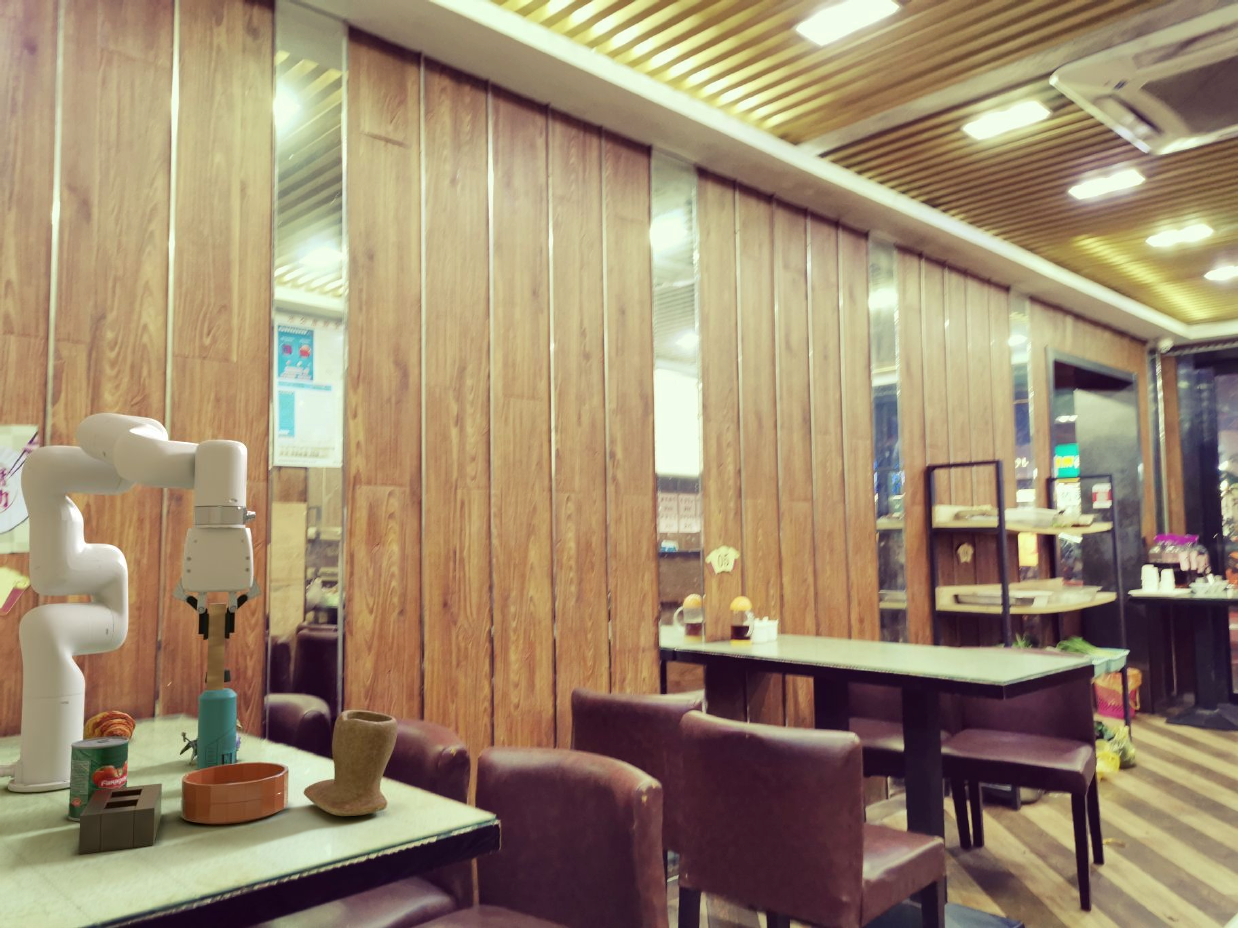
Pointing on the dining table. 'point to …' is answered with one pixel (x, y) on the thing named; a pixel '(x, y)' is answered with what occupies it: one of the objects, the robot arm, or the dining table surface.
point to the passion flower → (194, 744)
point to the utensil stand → (120, 818)
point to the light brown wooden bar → (216, 646)
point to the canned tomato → (96, 769)
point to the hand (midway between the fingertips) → (216, 637)
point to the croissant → (109, 725)
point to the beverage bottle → (217, 727)
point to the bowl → (234, 792)
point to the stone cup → (357, 764)
